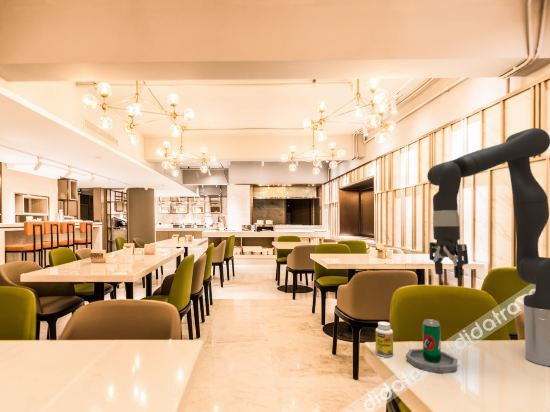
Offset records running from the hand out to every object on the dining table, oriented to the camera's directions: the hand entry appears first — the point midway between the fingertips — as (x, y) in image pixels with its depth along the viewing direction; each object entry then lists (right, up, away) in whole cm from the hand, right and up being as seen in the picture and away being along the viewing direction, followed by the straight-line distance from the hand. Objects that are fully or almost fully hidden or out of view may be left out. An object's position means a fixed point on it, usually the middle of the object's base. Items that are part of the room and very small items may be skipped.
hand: (448, 276), depth 104 cm
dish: (-6, -27, -1) cm, 28 cm away
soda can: (-6, -26, -1) cm, 27 cm away
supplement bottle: (-19, -28, +5) cm, 34 cm away
